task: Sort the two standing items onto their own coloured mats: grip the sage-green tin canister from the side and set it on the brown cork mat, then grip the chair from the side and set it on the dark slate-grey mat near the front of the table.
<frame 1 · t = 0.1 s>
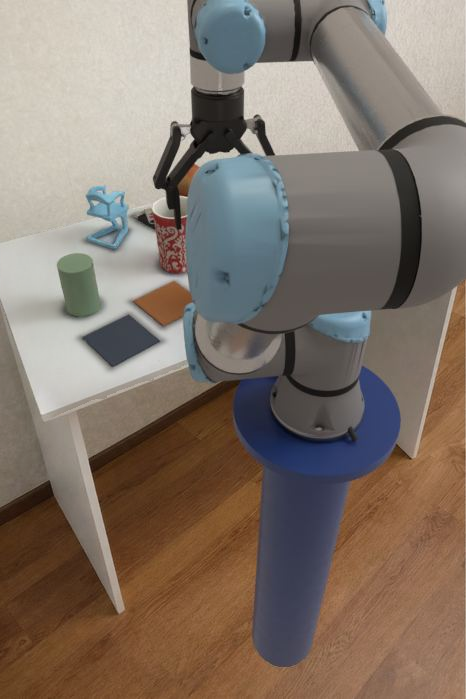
hand: (219, 221, 97), 21 cm above the table, tool pointing down, fingers open, 13 cm apart
cup: (242, 302, 115), on the table
figurine: (310, 256, 127), on the table
mug 2: (391, 241, 131), on the table
slate mat: (121, 339, 106), on the table
toy: (351, 194, 144), point 2 cm above the table
decorative bird: (391, 293, 112), point 3 cm above the table, touching statue
canister: (83, 306, 113), on the table
statue: (427, 274, 119), point 2 cm above the table, touching decorative bird, handgun
chair: (112, 237, 132), on the table
apple: (205, 186, 131), point 9 cm above the table, touching book
cork mat: (169, 303, 114), on the table
phone: (403, 204, 144), on the table
usb flash drive: (151, 214, 137), point 1 cm above the table
mug: (175, 260, 126), on the table
handgun: (311, 238, 123), point 5 cm above the table, touching book, statue
book: (241, 217, 139), on the table, touching apple, handgun
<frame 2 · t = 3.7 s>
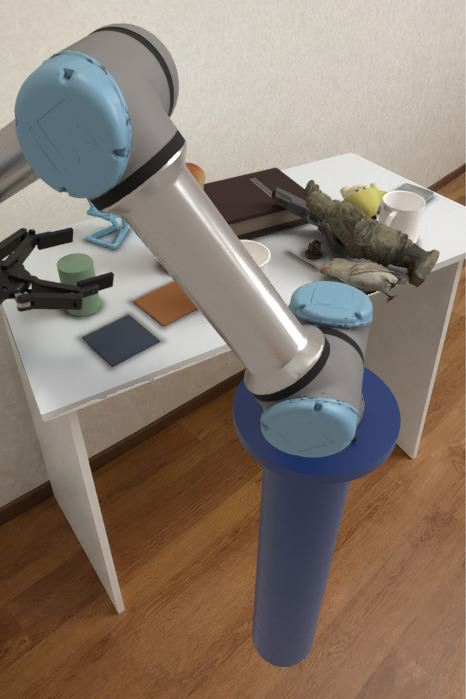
hand: (91, 256, 103), 13 cm above the table, tool horizontal, fingers open, 13 cm apart
nothing on the table moved.
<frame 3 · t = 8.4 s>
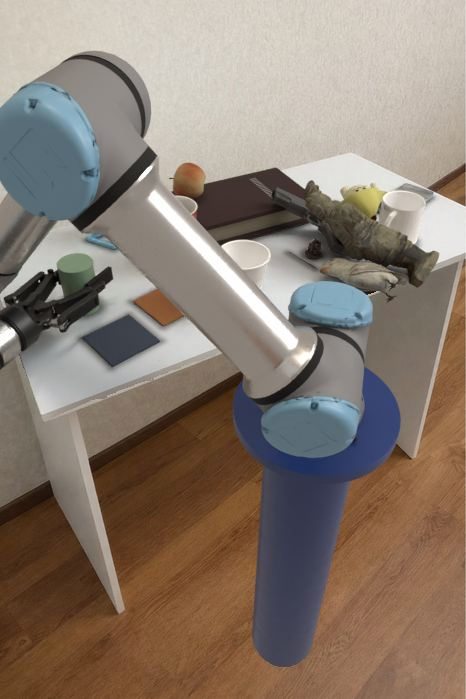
hand: (95, 267, 113), 6 cm above the table, tool horizontal, fingers closed on canister, 6 cm apart
canister: (83, 306, 113), on the table, touching gripper
everything else where it was.
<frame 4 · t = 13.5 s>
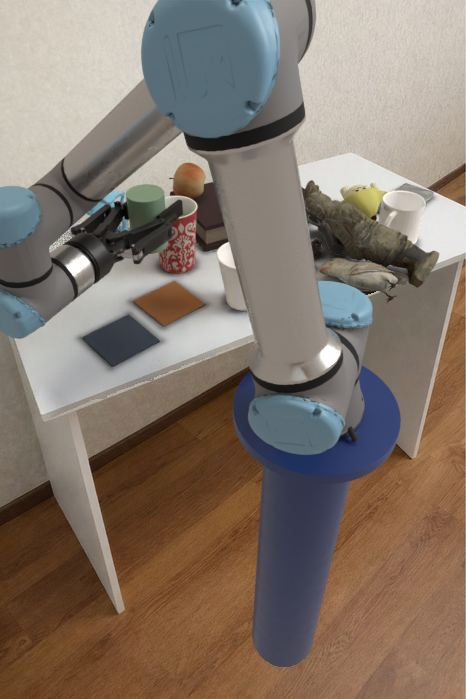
hand: (163, 202, 104), 19 cm above the table, tool horizontal, fingers closed on canister, 6 cm apart
canister: (150, 244, 105), point 13 cm above the table, touching gripper
everything else where it was.
when the fingers open (6 cm above the table, at t = 18.6 s): canister stays where it is, resting on cork mat.
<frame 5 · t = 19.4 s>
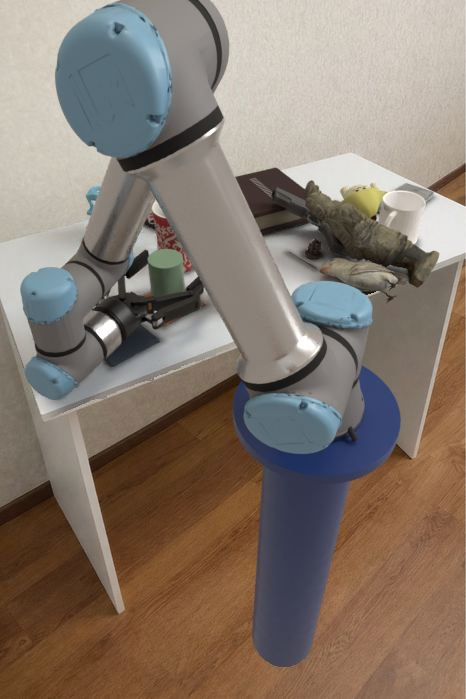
hand: (176, 265, 112), 7 cm above the table, tool horizontal, fingers open, 13 cm apart
canister: (168, 302, 114), resting on cork mat
everything else where it was.
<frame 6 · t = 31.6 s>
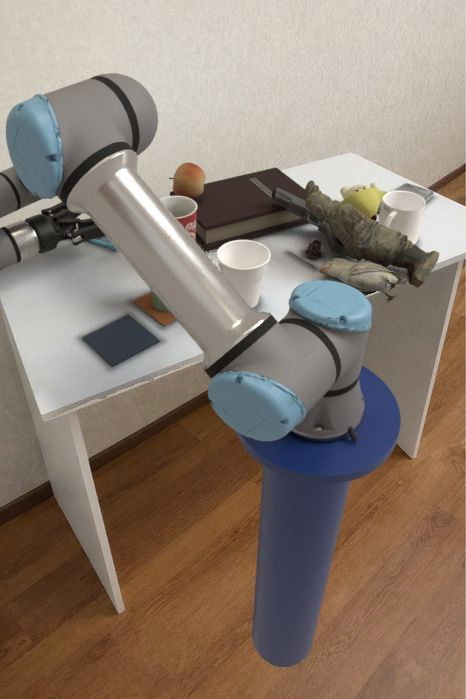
hand: (126, 201, 130), 7 cm above the table, tool horizontal, fingers closed on chair, 8 cm apart
chair: (112, 237, 132), on the table, touching gripper
everything else where it was.
when the fingers open (7 cm above the table, at t = 44.2 s): chair stays where it is, resting on slate mat.
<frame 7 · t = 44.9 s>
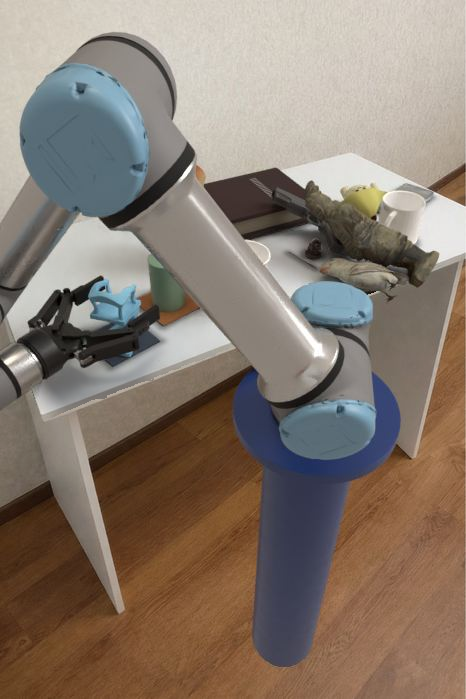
hand: (129, 296, 103), 8 cm above the table, tool horizontal, fingers open, 13 cm apart
chair: (120, 339, 106), resting on slate mat
everything else where it was.
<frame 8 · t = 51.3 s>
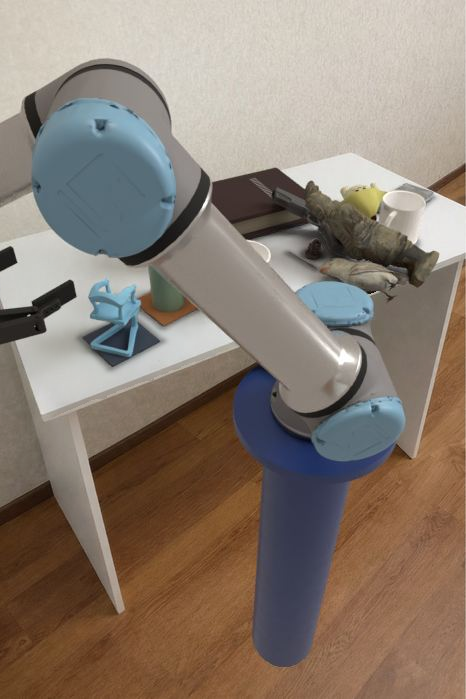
hand: (42, 270, 85), 21 cm above the table, tool horizontal, fingers open, 13 cm apart
decorative bird: (391, 293, 112), point 3 cm above the table
statue: (427, 274, 119), point 2 cm above the table, touching handgun
everything else where it was.
at the end: canister inside the target area on the cork mat (0.1 cm from its centre), point 0.3 cm above the cork mat's base; chair inside the target area on the slate mat (0.1 cm from its centre), point 0.1 cm above the slate mat's base; canister tilted 0° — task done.
